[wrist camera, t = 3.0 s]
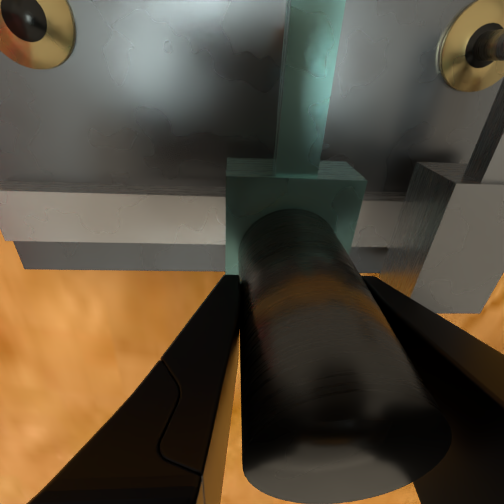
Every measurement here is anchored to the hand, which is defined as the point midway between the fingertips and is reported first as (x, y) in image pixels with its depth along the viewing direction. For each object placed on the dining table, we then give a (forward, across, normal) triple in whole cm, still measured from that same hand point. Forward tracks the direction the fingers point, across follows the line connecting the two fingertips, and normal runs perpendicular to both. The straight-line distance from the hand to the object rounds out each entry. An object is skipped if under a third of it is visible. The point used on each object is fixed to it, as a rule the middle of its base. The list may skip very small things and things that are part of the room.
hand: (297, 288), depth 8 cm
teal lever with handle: (+4, 0, -2) cm, 5 cm away
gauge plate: (+6, +1, -3) cm, 7 cm away
